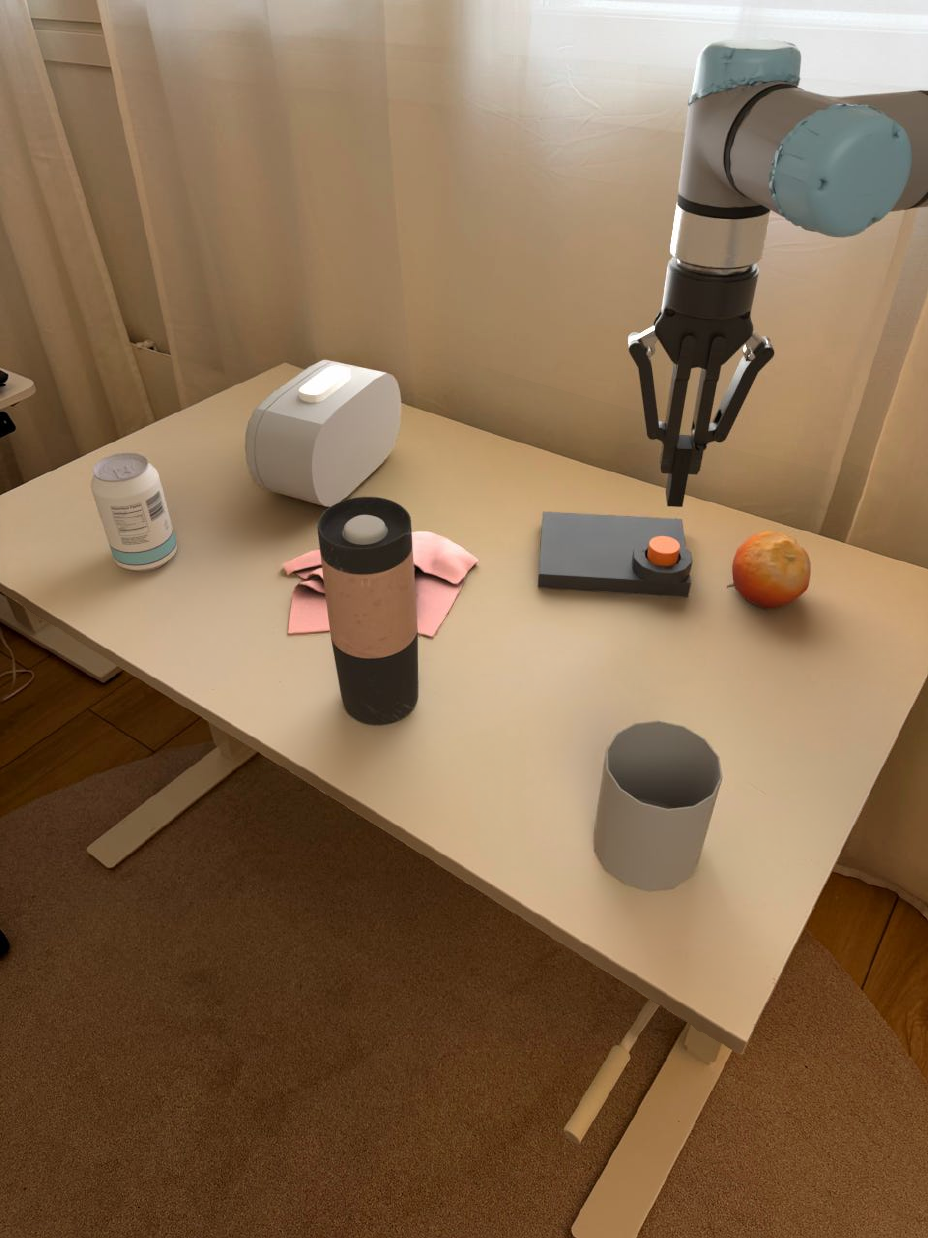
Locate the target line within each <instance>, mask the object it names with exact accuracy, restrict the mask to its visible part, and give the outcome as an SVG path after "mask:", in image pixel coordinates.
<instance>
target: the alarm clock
mask: <svg viewBox="0 0 928 1238" xmlns="http://www.w3.org/2000/svg"><path fill="white" fill-rule="evenodd" d="M401 422H402V397H401V389H400V386H399V382H398V380H397V379H396V377H395V376H394V375H393V374H390V373H388V372H385V371H380V370H375V369H371V368H367V367H361V366H358V365H352V364H347V363H343V362H339V361H335V360H329V359H322V360H320V361H317V362H316V363H314V364H312V365H310V366H308V367H307V368H305V369H304V370H302V371H301V372H300V373H298V374H297V375H295V376H294V377H292V378H291V379H290V380H288V381H287V382H285V383H284V384H283V385H281V386H280V387H278V388H277V389H275V391H273V392H271V393H270V394H269V395H268V396H267V397H266V398H264V400H262V402H260V403H259V404H258V405H257V406H256V407H255V408H254V409H253V411H252V413H251V415H250V417H249V420H248V421H247V425H246V426H247V427H246V430H245V436H244V437H245V438H244V441H245V442H244V452H245V460H246V464H247V467H248V472H249V474H250V476H251V478H252V480H253V482H254V483H255V484H256V485H257V486H258V487H260V488H261V489H262V490H266V491H268V492H273V493H276V494H280V495H283V496H287V497H291V498H293V499H298V500H300V501H305V502H308V503H311V504H315V505H319V506H321V507H328V508H329V507H331V506H332V505H334V504H336V503H339V502H341V501H344V500H345V499H346V498H347V497H348V496H349V495H351V493H353V492H354V490H356V489H357V488H358V487H359V486H360V485H361V484H362V483H363V482H365V480H366V479H367V478H368V477H370V475H372V474H373V473H374V472H375V471H376V470H377V469H378V468H379V467H380V466H381V465H382V464H383V463H384V461H386V459H387V458H388V457H389V456H390V454H391V453H392V452H393V450H394V447H395V446H396V443H397V441H398V438H399V434H400V429H401Z"/></svg>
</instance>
